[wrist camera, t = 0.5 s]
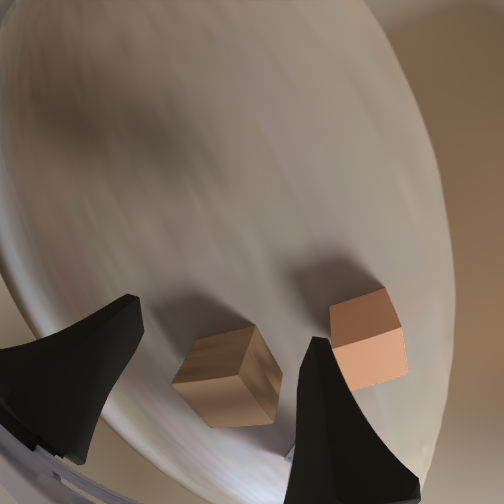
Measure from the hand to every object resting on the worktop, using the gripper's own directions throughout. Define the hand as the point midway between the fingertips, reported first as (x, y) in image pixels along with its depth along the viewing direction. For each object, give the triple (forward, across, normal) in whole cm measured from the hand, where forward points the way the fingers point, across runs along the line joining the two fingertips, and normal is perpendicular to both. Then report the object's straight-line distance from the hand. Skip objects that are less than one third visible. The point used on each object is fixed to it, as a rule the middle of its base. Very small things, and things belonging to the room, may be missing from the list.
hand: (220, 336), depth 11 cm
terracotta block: (+9, -9, +5) cm, 14 cm away
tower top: (+6, 0, +11) cm, 13 cm away
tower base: (+9, 0, +12) cm, 15 cm away
